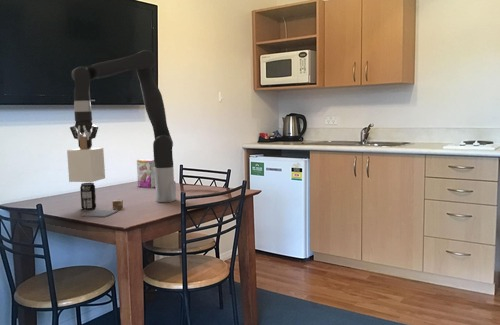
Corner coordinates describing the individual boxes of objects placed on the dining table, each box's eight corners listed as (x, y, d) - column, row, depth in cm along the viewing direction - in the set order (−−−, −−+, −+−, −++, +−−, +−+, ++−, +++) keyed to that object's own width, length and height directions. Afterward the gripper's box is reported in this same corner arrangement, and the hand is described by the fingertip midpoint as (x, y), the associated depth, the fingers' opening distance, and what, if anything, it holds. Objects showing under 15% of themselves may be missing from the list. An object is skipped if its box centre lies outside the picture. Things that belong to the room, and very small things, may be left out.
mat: (117, 211, 211) (117, 210, 211) (105, 217, 200) (105, 215, 200) (96, 211, 213) (96, 209, 213) (82, 216, 203) (82, 215, 203)
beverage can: (91, 206, 224) (89, 182, 222) (99, 208, 220) (97, 183, 218) (78, 209, 219) (77, 183, 217) (86, 210, 215) (85, 185, 213)
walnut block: (122, 207, 220) (122, 199, 220) (121, 209, 216) (121, 201, 216) (114, 208, 220) (113, 199, 219) (112, 209, 216) (112, 201, 215)
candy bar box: (137, 186, 281) (136, 159, 279) (143, 185, 285) (142, 159, 283) (151, 188, 275) (149, 160, 273) (156, 186, 279) (155, 159, 277)
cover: (105, 178, 222) (102, 135, 220) (91, 182, 211) (88, 136, 208) (83, 178, 224) (80, 135, 222) (69, 181, 213) (66, 137, 211)
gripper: (101, 110, 216) (103, 147, 218) (74, 111, 219) (76, 147, 221) (92, 110, 209) (94, 148, 211) (64, 111, 212) (67, 148, 214)
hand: (85, 147), depth 216 cm, fingers closed on cover, 3 cm apart
